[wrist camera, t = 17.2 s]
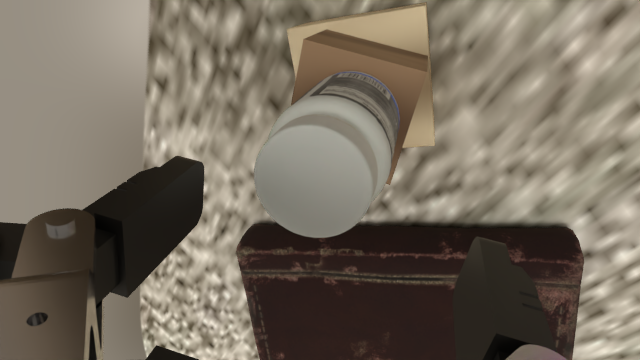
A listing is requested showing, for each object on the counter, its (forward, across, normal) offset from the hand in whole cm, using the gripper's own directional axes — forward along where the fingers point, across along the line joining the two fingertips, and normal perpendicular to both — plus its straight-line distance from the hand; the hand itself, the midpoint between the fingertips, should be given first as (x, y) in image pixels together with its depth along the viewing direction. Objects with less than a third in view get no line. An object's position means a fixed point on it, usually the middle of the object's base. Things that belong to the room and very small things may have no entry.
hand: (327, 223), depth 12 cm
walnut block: (+15, +1, 0) cm, 15 cm away
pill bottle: (+10, +1, 0) cm, 10 cm away
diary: (+20, -6, +20) cm, 29 cm away
